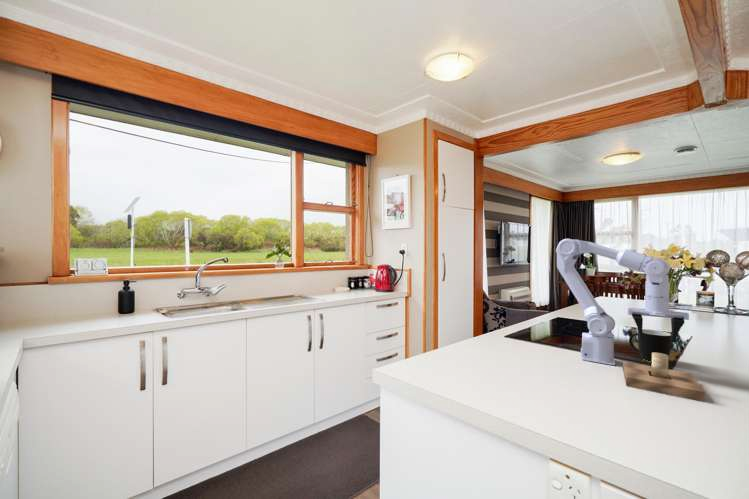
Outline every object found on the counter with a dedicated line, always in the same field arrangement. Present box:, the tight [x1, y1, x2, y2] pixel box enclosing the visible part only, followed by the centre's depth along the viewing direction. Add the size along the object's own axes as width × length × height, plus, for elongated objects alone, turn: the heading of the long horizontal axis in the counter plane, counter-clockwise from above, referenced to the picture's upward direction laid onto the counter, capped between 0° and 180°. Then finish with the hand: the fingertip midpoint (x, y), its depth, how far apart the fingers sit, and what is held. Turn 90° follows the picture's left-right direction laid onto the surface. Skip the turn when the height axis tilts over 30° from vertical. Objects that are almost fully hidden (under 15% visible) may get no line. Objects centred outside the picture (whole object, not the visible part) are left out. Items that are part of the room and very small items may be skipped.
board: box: [622, 361, 706, 403], centre depth 95 cm, size 16×16×2 cm
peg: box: [651, 352, 669, 379], centre depth 96 cm, size 4×4×8 cm
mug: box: [628, 328, 672, 362], centre depth 117 cm, size 12×9×10 cm
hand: (656, 339), depth 104 cm, fingers open, 7 cm apart
